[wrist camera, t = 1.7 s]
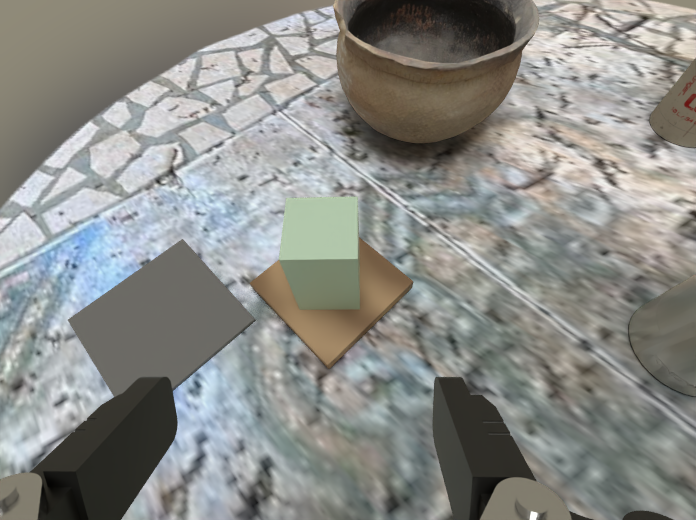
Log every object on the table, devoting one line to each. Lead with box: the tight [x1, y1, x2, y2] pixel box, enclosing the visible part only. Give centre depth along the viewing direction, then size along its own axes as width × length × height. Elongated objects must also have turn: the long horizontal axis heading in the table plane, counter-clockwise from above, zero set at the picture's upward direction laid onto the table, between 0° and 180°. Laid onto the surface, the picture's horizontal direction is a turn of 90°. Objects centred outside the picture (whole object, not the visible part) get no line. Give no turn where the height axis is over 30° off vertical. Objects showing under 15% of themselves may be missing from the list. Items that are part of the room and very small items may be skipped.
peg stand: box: [250, 238, 413, 369], centre depth 36 cm, size 12×12×8 cm
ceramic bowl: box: [333, 0, 539, 143], centre depth 46 cm, size 22×22×15 cm
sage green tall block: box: [279, 197, 360, 310], centre depth 34 cm, size 6×6×10 cm
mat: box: [68, 239, 255, 397], centre depth 38 cm, size 14×14×1 cm
